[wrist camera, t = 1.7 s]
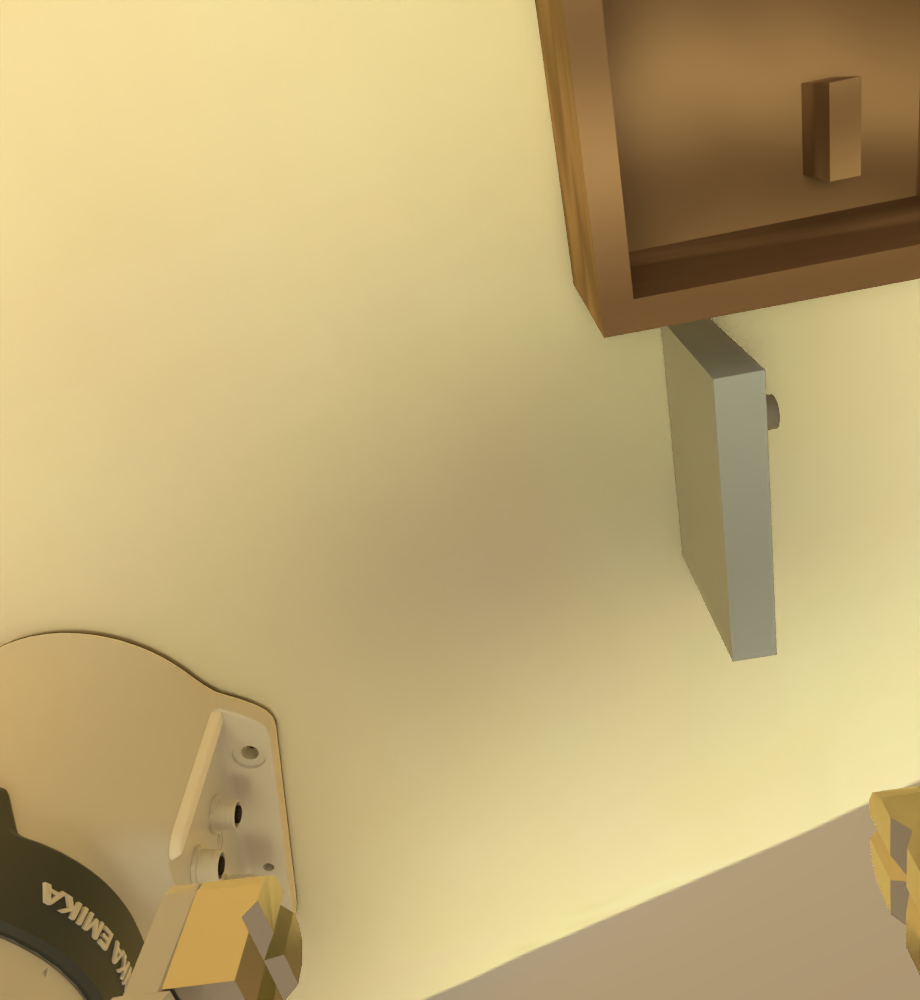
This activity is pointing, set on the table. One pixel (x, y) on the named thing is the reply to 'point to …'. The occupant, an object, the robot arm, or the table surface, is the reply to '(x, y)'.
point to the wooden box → (733, 151)
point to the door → (724, 480)
